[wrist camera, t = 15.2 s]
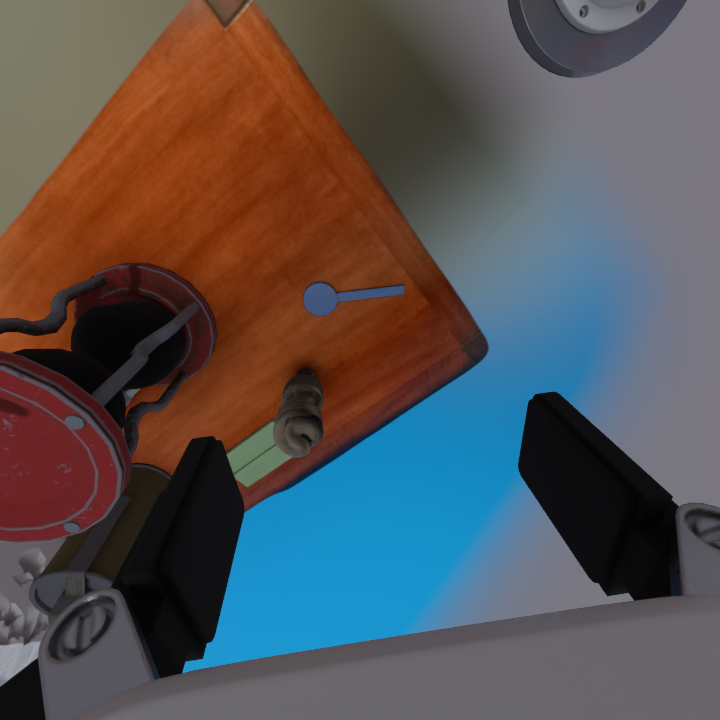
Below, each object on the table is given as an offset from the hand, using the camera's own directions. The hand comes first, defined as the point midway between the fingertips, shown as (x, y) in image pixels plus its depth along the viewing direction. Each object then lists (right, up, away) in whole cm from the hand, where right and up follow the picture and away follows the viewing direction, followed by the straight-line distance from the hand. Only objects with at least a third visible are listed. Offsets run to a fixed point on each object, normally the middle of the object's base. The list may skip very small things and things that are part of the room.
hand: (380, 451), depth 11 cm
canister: (-36, -18, +46) cm, 61 cm away
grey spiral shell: (-9, +1, +40) cm, 41 cm away
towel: (-17, -12, +45) cm, 50 cm away
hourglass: (-28, +7, +34) cm, 45 cm away
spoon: (-2, +11, +35) cm, 37 cm away
